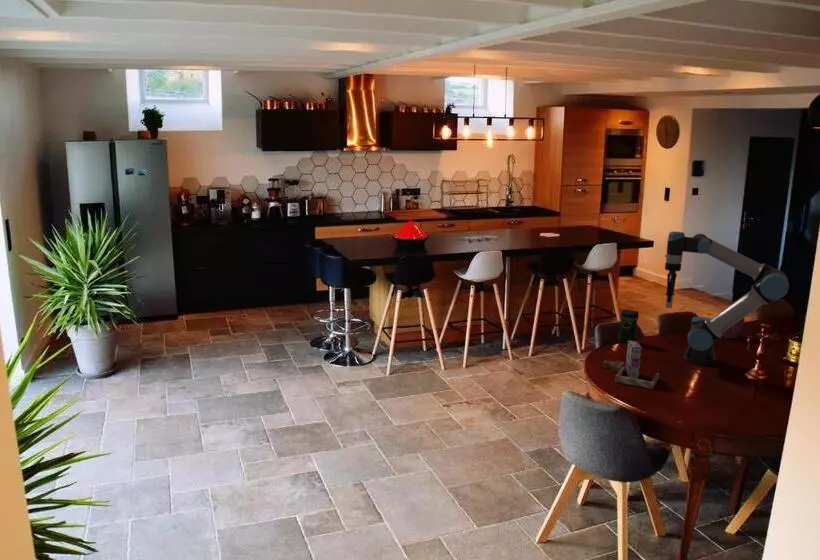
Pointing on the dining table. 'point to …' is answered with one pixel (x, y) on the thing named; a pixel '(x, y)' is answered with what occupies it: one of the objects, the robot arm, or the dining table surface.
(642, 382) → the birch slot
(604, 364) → the walnut T block
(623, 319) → the coffee jar
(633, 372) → the candy bar box
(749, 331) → the dining table surface
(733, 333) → the plant pot
